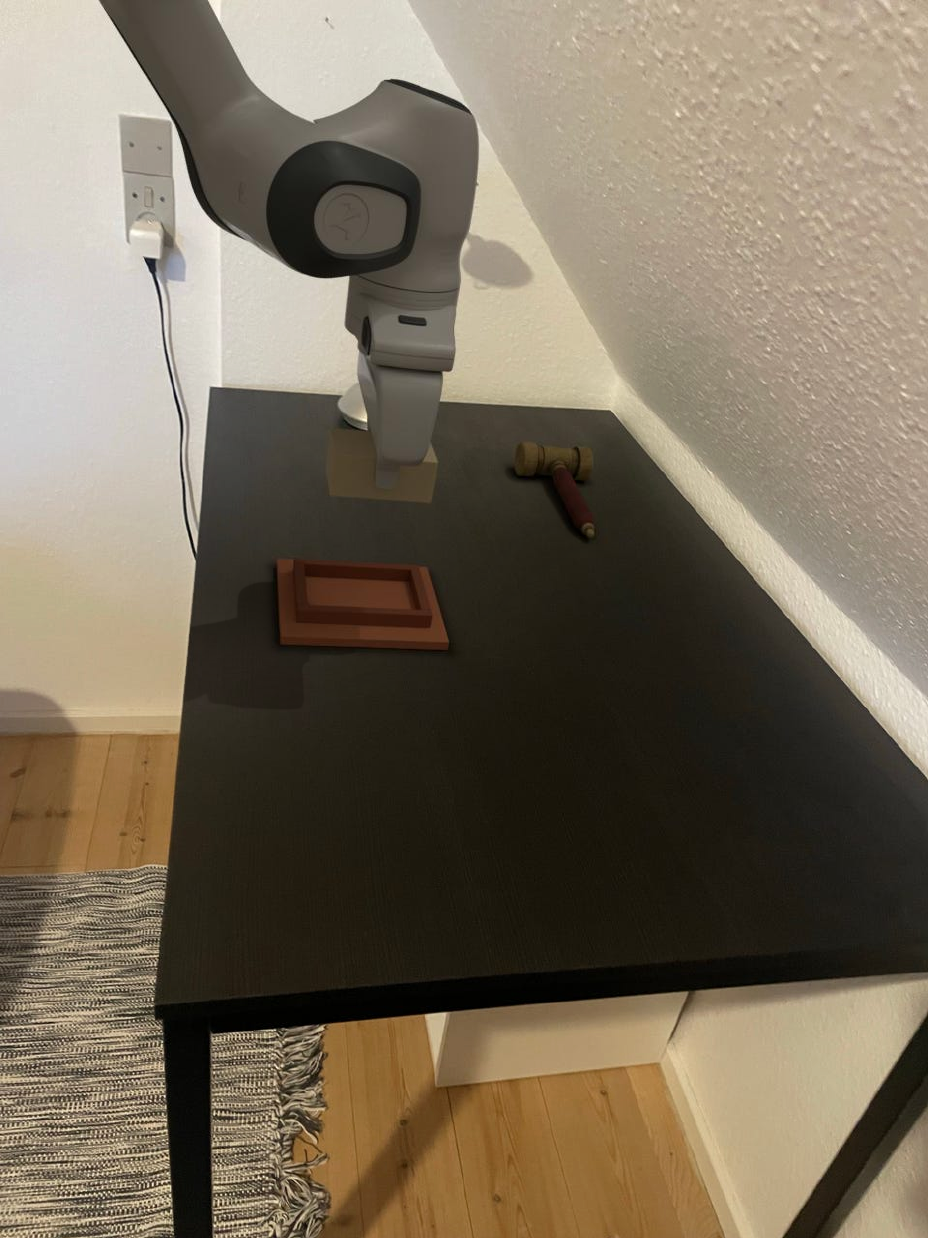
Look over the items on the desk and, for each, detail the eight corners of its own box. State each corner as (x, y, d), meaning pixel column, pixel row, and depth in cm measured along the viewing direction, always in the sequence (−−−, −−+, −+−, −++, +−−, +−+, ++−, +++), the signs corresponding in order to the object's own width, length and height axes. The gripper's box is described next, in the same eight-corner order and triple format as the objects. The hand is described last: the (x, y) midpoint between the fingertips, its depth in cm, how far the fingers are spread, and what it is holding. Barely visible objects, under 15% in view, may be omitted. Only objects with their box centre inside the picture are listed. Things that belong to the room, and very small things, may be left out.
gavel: (634, 522, 115) (557, 517, 113) (623, 553, 118) (548, 548, 116) (587, 441, 132) (519, 435, 129) (579, 470, 134) (511, 464, 132)
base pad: (280, 644, 88) (282, 622, 86) (276, 566, 99) (278, 546, 98) (447, 650, 92) (451, 629, 90) (425, 574, 103) (429, 554, 102)
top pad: (329, 496, 81) (334, 453, 79) (325, 468, 86) (329, 427, 84) (431, 503, 84) (438, 462, 82) (422, 476, 88) (428, 436, 86)
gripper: (351, 272, 84) (335, 418, 91) (374, 349, 67) (353, 520, 75) (420, 281, 86) (400, 424, 93) (460, 359, 69) (431, 525, 76)
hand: (379, 468), depth 84 cm, fingers closed on top pad, 5 cm apart
